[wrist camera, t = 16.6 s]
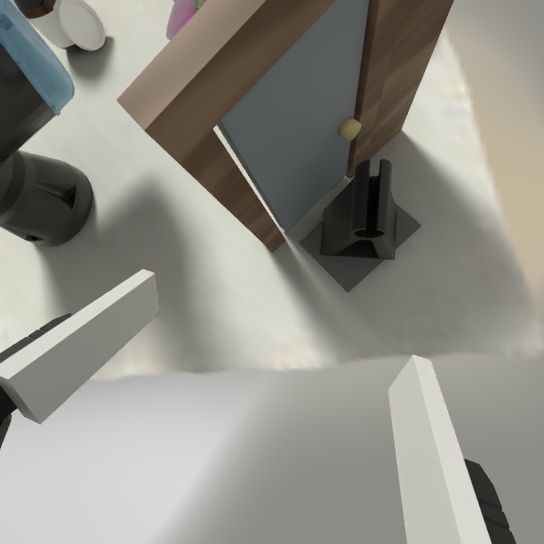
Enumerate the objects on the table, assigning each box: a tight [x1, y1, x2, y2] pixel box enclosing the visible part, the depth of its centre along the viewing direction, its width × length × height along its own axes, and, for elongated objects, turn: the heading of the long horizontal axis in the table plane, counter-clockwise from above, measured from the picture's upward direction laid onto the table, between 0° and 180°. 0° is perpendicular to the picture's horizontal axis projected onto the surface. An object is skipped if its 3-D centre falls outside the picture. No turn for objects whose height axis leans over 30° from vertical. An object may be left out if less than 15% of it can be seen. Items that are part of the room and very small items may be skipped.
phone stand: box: [320, 159, 397, 260], centre depth 26 cm, size 9×6×12 cm, turn 83°
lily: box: [166, 0, 207, 40], centre depth 38 cm, size 12×12×10 cm
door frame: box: [117, 0, 454, 252], centre depth 22 cm, size 2×24×24 cm, turn 132°
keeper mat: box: [300, 204, 421, 292], centre depth 32 cm, size 9×12×1 cm
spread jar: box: [14, 0, 105, 51], centre depth 43 cm, size 12×11×12 cm
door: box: [217, 0, 369, 232], centre depth 23 cm, size 11×3×21 cm, turn 132°
